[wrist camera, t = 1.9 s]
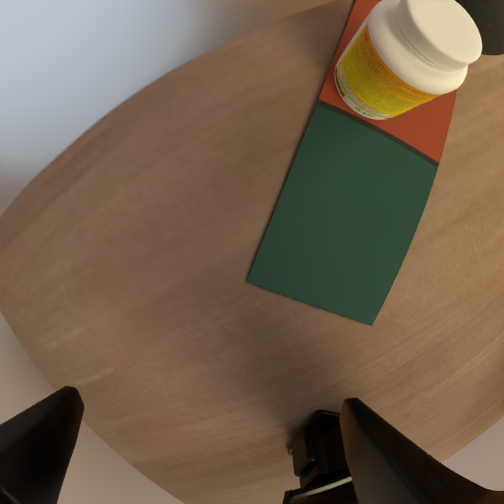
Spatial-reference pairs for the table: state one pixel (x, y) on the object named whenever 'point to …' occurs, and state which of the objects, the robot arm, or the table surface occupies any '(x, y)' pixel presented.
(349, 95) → the supplement bottle
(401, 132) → the sorting mat
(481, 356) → the table surface
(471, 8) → the light bulb
